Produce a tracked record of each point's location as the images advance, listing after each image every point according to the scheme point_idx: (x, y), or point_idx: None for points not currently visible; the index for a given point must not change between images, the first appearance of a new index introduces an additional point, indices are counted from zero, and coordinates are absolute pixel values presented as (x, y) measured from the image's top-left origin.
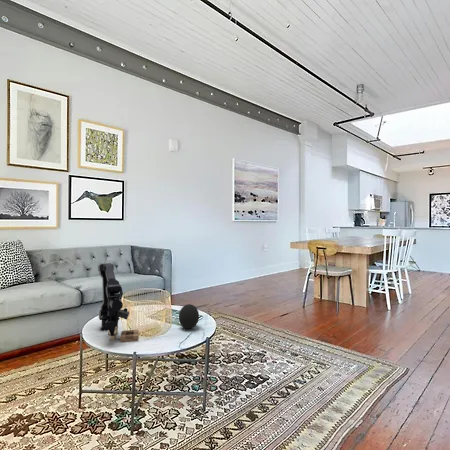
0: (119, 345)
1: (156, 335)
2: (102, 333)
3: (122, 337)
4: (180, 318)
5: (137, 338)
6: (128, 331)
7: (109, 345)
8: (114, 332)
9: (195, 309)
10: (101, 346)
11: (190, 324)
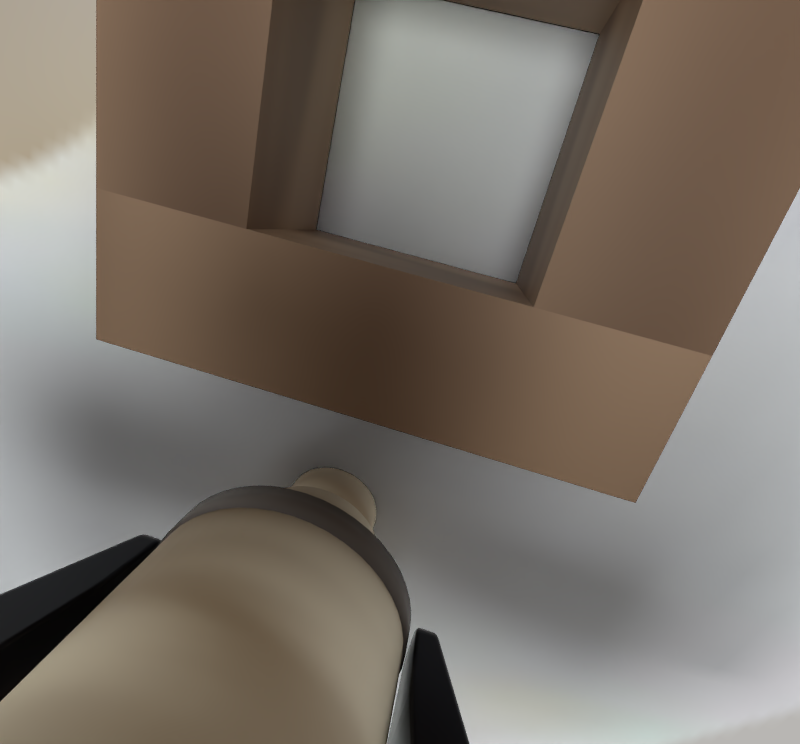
0: (776, 482)
1: None
2: (12, 576)
3: (653, 430)
4: None
5: None
6: (216, 120)
7: (633, 635)
8: (389, 680)
9: None
10: (596, 738)
11: None
